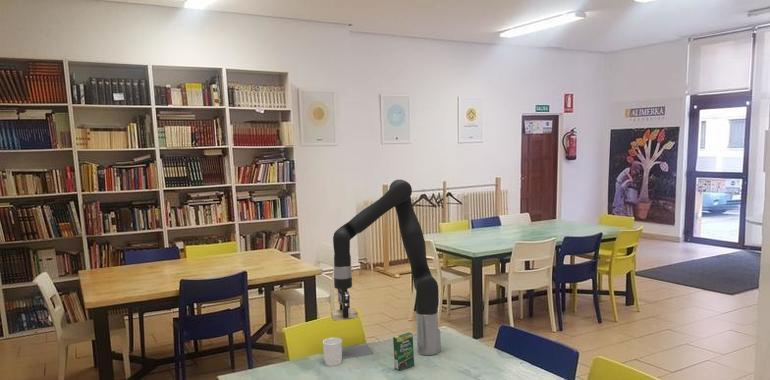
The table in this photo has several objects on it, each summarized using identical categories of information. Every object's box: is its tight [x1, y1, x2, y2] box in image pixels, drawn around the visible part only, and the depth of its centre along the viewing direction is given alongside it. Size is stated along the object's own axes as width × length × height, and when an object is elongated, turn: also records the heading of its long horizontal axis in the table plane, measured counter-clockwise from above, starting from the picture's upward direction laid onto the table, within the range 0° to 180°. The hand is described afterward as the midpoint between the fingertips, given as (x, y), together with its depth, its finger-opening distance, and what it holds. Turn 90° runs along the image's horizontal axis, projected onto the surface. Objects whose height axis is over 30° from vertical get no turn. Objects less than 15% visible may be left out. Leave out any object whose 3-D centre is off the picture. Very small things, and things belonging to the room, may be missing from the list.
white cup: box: [322, 337, 343, 367], centre depth 199 cm, size 8×8×10 cm
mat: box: [342, 344, 375, 360], centre depth 210 cm, size 14×12×1 cm
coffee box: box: [392, 332, 415, 372], centre depth 193 cm, size 8×3×13 cm, turn 122°
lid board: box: [330, 307, 358, 322], centre depth 205 cm, size 10×6×2 cm, turn 106°
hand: (344, 315), depth 205 cm, fingers closed on lid board, 6 cm apart
